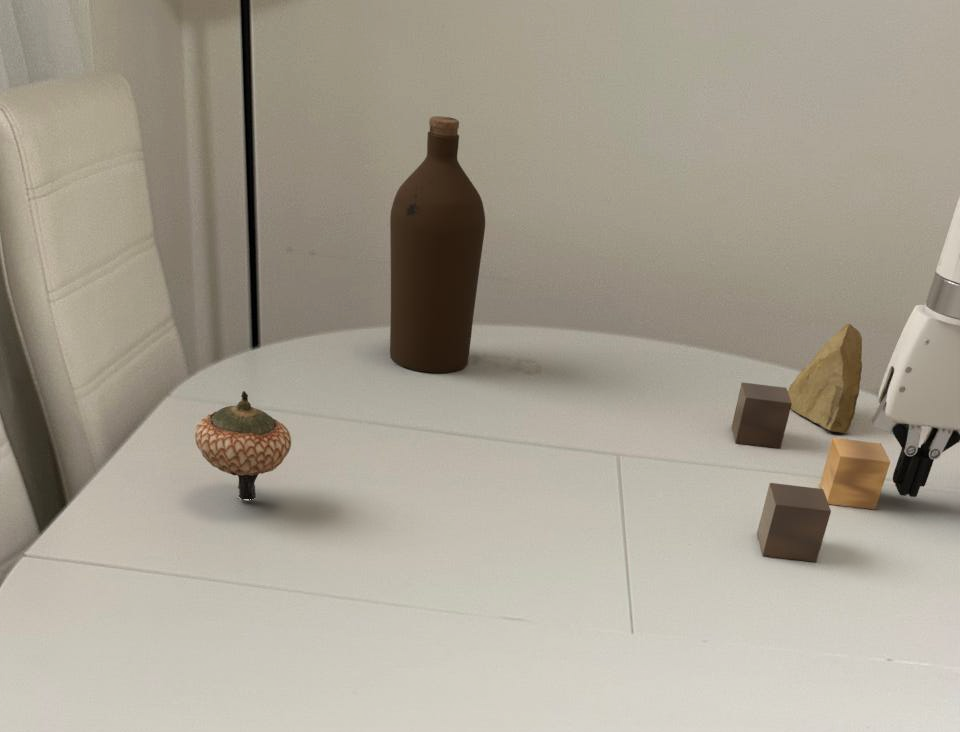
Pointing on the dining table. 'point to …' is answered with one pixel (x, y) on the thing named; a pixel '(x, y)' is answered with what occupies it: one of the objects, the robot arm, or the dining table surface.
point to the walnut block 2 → (793, 522)
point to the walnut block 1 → (761, 415)
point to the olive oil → (435, 258)
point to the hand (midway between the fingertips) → (905, 490)
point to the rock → (831, 382)
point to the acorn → (243, 443)
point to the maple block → (854, 473)
